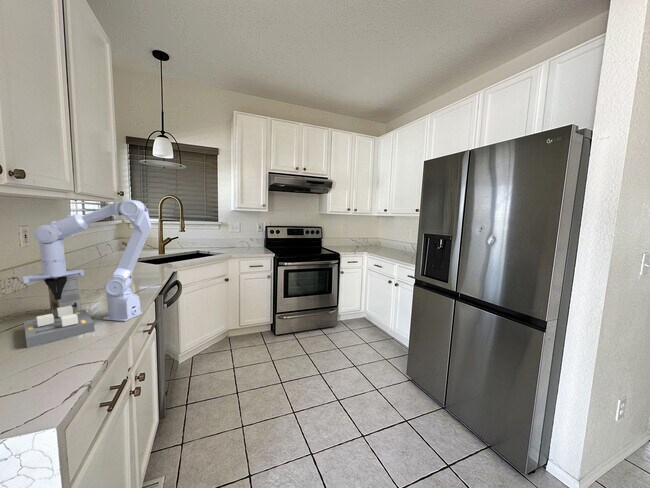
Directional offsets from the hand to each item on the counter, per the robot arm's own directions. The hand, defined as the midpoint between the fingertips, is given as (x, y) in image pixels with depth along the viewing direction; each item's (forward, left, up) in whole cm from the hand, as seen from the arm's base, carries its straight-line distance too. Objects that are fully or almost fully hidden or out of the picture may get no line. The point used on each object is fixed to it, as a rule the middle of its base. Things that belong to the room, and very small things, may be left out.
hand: (57, 299), depth 92 cm
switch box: (-6, +5, -9) cm, 11 cm away
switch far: (-2, 0, -5) cm, 6 cm away
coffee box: (+9, -9, -9) cm, 16 cm away
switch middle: (-4, +7, -5) cm, 10 cm away
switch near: (-11, +6, -5) cm, 14 cm away
